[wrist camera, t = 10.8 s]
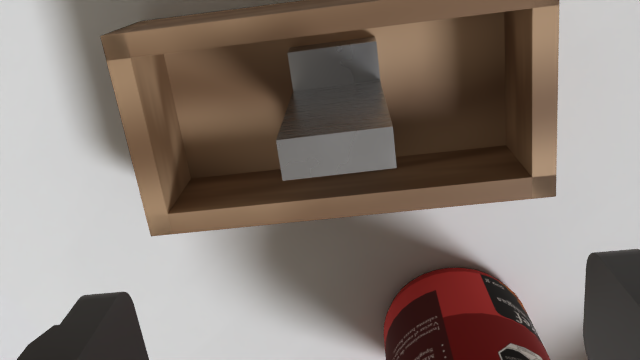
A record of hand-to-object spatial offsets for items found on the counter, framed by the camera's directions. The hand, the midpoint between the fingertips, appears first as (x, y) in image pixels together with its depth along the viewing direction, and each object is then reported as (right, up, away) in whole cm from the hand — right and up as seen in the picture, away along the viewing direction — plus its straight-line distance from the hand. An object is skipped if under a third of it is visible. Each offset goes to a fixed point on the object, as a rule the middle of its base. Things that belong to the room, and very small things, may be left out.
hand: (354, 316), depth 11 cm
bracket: (0, +7, +18) cm, 20 cm away
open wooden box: (0, +7, +19) cm, 20 cm away
